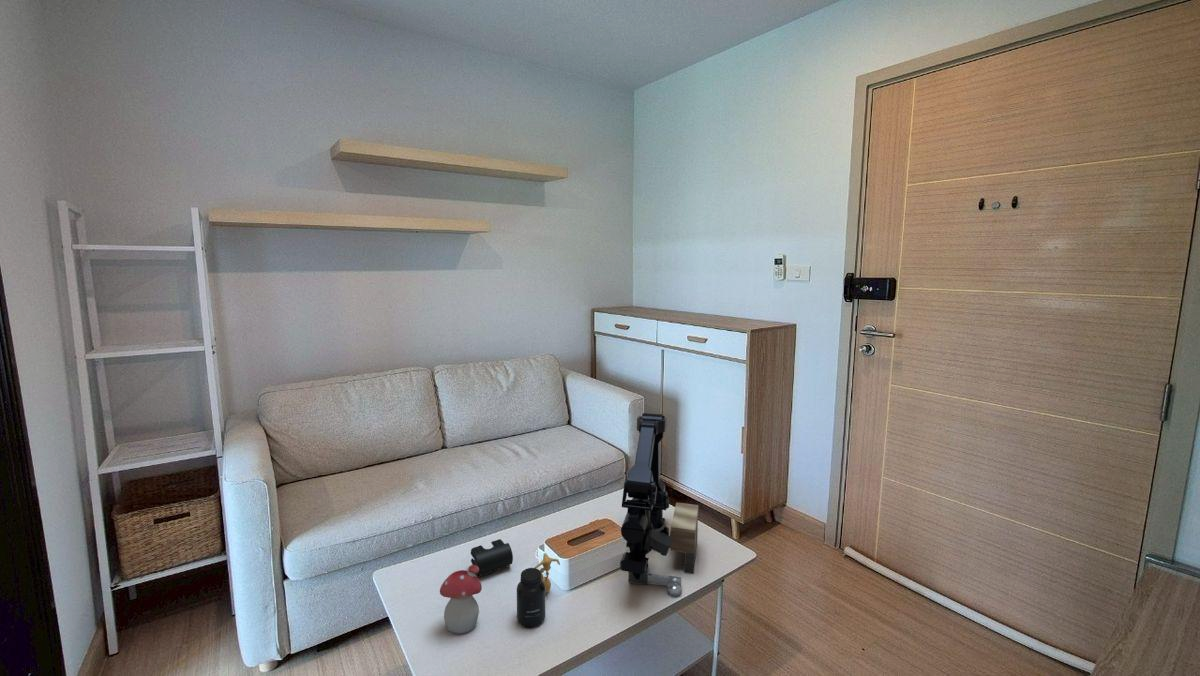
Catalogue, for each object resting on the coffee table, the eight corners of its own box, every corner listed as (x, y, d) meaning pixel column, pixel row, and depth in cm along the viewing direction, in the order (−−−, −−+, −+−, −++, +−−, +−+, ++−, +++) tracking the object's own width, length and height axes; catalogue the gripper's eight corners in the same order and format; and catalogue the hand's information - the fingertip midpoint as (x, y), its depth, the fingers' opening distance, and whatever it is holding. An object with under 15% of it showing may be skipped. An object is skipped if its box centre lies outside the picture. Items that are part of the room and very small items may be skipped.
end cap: (478, 583, 134) (477, 560, 133) (470, 569, 140) (468, 547, 138) (513, 570, 139) (512, 548, 138) (503, 557, 145) (503, 536, 144)
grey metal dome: (667, 587, 132) (667, 580, 131) (681, 588, 131) (681, 581, 131) (666, 596, 128) (666, 589, 128) (680, 597, 128) (681, 590, 127)
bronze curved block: (674, 542, 152) (675, 502, 150) (697, 545, 150) (698, 505, 148) (668, 570, 139) (669, 526, 137) (693, 573, 137) (695, 530, 135)
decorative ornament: (486, 616, 121) (483, 560, 119) (477, 637, 115) (475, 577, 112) (448, 615, 122) (445, 558, 119) (438, 635, 115) (434, 576, 113)
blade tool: (629, 577, 135) (629, 560, 134) (680, 583, 132) (681, 566, 132) (628, 582, 133) (628, 565, 132) (680, 588, 130) (681, 571, 130)
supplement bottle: (531, 633, 116) (530, 586, 114) (511, 620, 120) (509, 575, 118) (551, 616, 121) (550, 571, 119) (531, 604, 125) (530, 561, 123)
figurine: (554, 582, 134) (554, 541, 132) (564, 595, 128) (563, 553, 126) (525, 592, 130) (524, 550, 128) (534, 606, 124) (533, 563, 122)
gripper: (665, 546, 120) (664, 604, 122) (674, 508, 137) (672, 560, 140) (619, 539, 122) (619, 597, 125) (634, 503, 140) (633, 554, 143)
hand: (638, 576), depth 133 cm, fingers closed on blade tool, 2 cm apart
